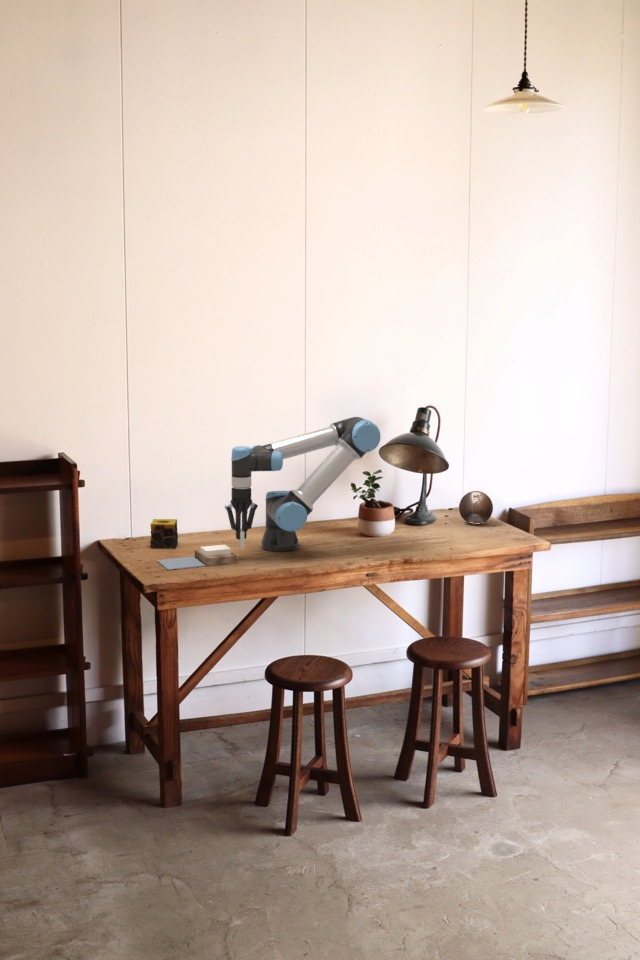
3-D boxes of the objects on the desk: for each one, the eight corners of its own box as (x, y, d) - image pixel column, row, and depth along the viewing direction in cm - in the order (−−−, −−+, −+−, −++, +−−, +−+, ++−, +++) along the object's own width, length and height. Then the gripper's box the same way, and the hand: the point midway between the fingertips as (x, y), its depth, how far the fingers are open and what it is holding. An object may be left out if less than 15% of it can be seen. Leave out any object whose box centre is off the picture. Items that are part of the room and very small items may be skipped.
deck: (224, 554, 414) (224, 547, 413) (236, 563, 401) (236, 555, 401) (194, 557, 409) (194, 550, 408) (206, 566, 396) (206, 558, 396)
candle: (175, 548, 422) (175, 524, 420) (150, 548, 422) (149, 524, 420) (178, 542, 432) (178, 518, 430) (153, 542, 432) (153, 518, 430)
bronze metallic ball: (462, 528, 467) (463, 494, 464) (455, 520, 481) (456, 488, 479) (495, 527, 468) (497, 494, 465) (487, 520, 483) (489, 488, 480)
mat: (193, 557, 408) (193, 556, 408) (205, 566, 396) (205, 565, 396) (157, 561, 402) (157, 560, 402) (168, 570, 390) (168, 569, 390)
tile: (224, 549, 410) (224, 544, 409) (231, 553, 403) (231, 548, 403) (200, 551, 405) (200, 546, 405) (206, 556, 399) (206, 551, 399)
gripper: (253, 484, 411) (253, 543, 415) (221, 486, 405) (221, 546, 409) (260, 487, 404) (260, 548, 408) (228, 490, 398) (228, 551, 403)
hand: (241, 547), depth 409 cm, fingers closed
